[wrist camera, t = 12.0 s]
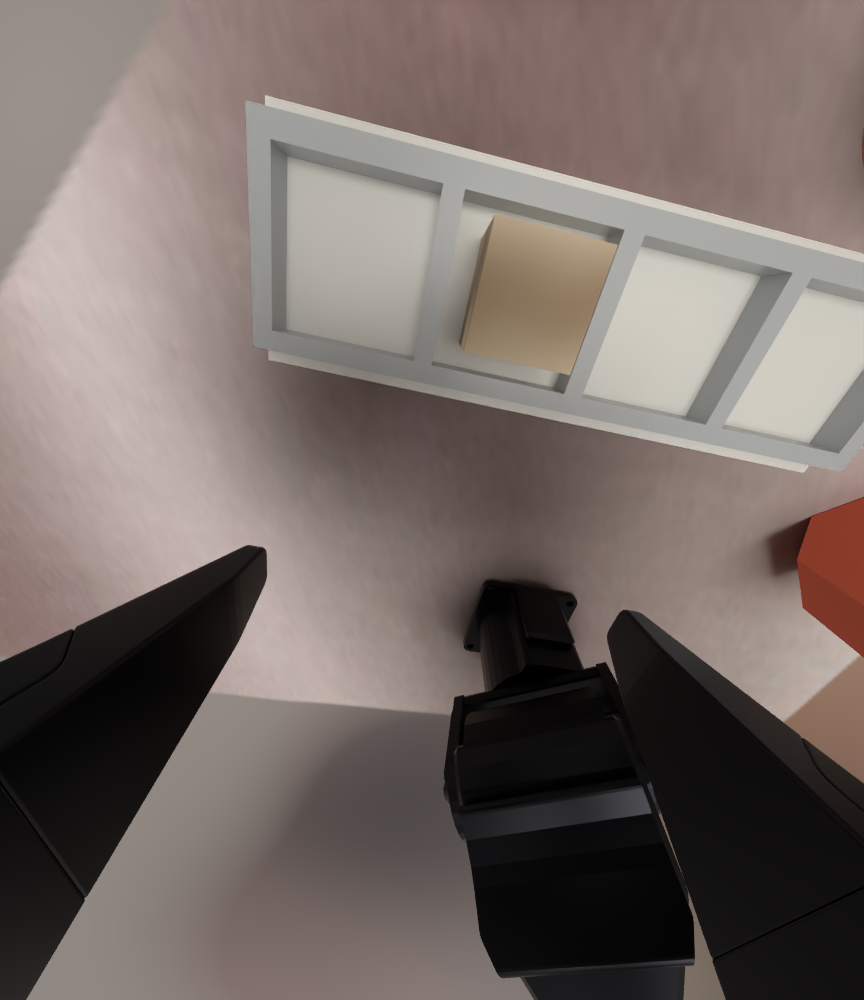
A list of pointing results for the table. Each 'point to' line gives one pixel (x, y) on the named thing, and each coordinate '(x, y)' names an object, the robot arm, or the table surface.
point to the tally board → (617, 315)
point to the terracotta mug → (863, 148)
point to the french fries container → (835, 571)
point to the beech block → (533, 294)
